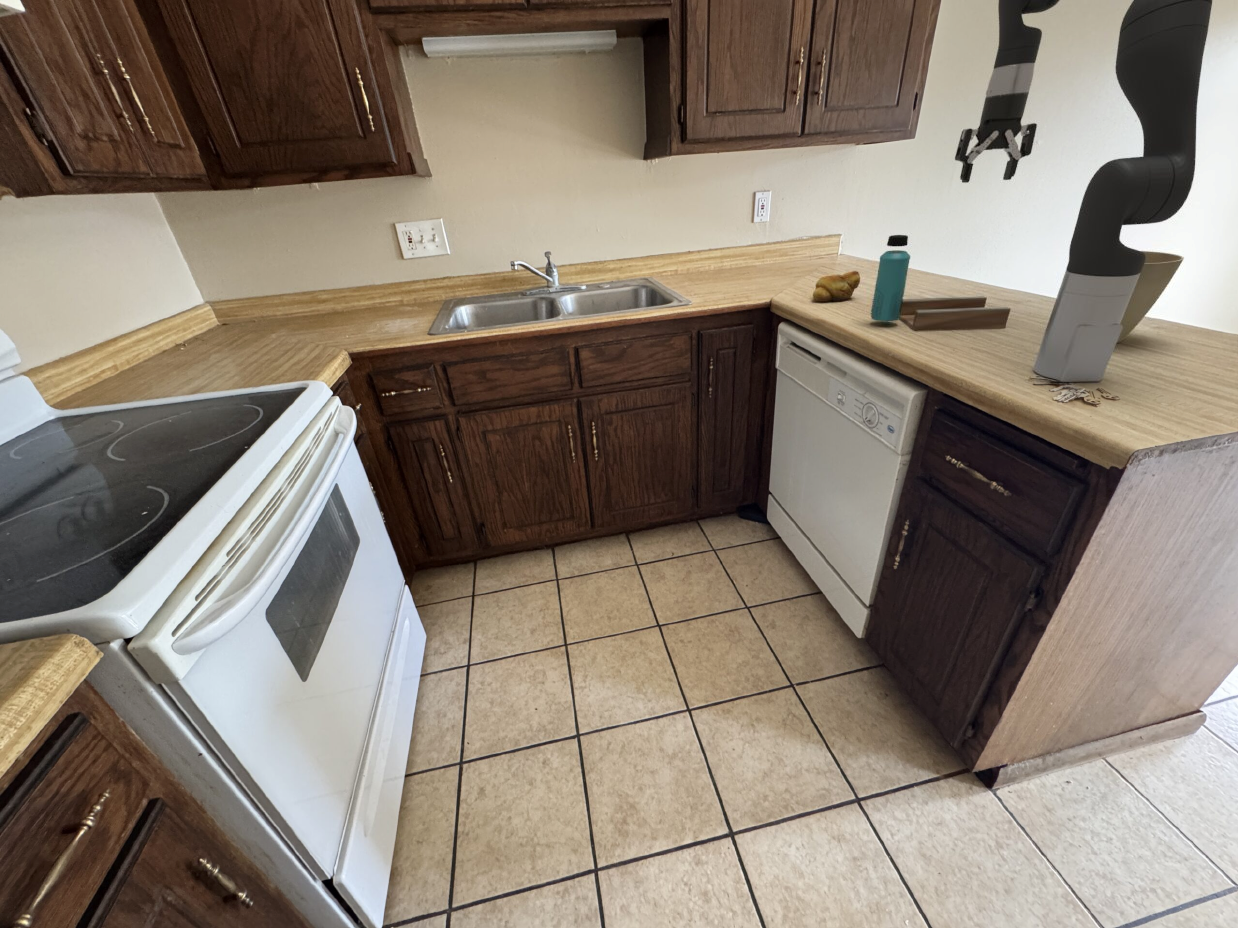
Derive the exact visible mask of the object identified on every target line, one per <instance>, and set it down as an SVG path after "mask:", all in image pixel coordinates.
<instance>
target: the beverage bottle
mask: <svg viewBox="0 0 1238 928" xmlns="http://www.w3.org/2000/svg"><path fill="white" fill-rule="evenodd" d="M908 241H909V236H908V235H907V234H905V235H904V234H893V235H889V236H888V238H887V243H886V246H888V247H906V246H908ZM910 259H911V255H910V254H909V253H908V252H907V251H906V250H899V249H898V250H887V251H884V253H883V254H881V255H880V256H879V263H878V270H877V275H876V276H877V277H876V281H875V282H876V283H875V287H874V292H873V299H872V303H871V307H870V308H871V309H870V317H871V320H873V321H879V322H894V321H895V322H896V321H898V320H900V319H899V317H900V311H901V309H902V308H901V305H902V304H903V303H902V301H903V299H904V295H905V290H906V283H907V281H908V280H907V275H908V271H909V270H908V269H909V266H910Z"/></svg>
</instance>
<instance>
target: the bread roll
mask: <svg viewBox="0 0 1238 928" xmlns="http://www.w3.org/2000/svg"><path fill="white" fill-rule="evenodd" d="M860 283H861V276H860V272H859V271H856V270H854V271H853V270H852V271H848V272H845V273H843V274H831V275H826V276H821V277H820V278H819V279H818V280H817V281H816V283H815V289H814V290H813V292H812V297H813V300H814V301H816V302H824V303H825V302H826V303H827V302H831V301H835V302H836V301H837V302H841V301H846V300H850V299H851V298H852V297H853V293H854V292H855V289H857V288H858V287H859V285H860Z"/></svg>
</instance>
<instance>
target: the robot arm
mask: <svg viewBox="0 0 1238 928" xmlns="http://www.w3.org/2000/svg"><path fill="white" fill-rule="evenodd" d="M1059 2H1060V0H998V9H997V10H998V11H997V12H998V33H999V34H998V45H997V46H998V47H997V51H996V57H995V61H994V66H993V70H992V73H991V76H990V79H989V82H988V86H987V89H986V92H985V98H984V102H983V106H982V107H983V108H982V112H981V116H980V121H979V126H978V127H977V128H976V129H975V128H974V129H972V128H965V129H963V130H962V131H961V134H960V137H959V140H958V141H959V142H958V145H957V147H956V152H955V156H954V160H955V161H957V162H961V164H962V167H961V171H960V177H959V178H960V180H961V182H962V183H964V184H966V183H969V182H970V181H971V175H972V171H973V166H974V163H973V162H974V161H975V160H976V159H977V158H978V156H979V155H981V154H982V153H983V152H984V151H992V150H1004V151H1003V152H1005V153H1006V155H1007V156H1008V158H1009V160H1007V162H1006V165H1005V170H1004V173H1003V177H1002V178H1003V179H1002V180H1003V181H1010V180H1012V177H1014V176H1015V174H1016V171H1017V169H1018V164H1019V162H1020V159H1023V158H1024V157H1028V156H1030V155H1031V154H1032V150H1033V145H1034V142H1035V136H1036V132H1037V127H1038V124H1037V123H1035V122H1033V123H1027V124H1024V125H1023V124H1022V119H1023V116H1024V114H1025V110H1026V109H1025V108H1026V104H1027V102H1028V97H1029V93H1030V89H1031V86H1032V81H1033V78H1034V72H1035V71H1034V70H1035V66H1036V65H1035V64H1036V61H1037V56H1038V54H1039V49H1040V44H1041V42H1042V41H1041V40H1042V37H1043V31H1042V30H1041V28H1039V27H1034V26H1030V25H1026V24H1025V23H1024V20H1023V15H1026V14H1038V13H1043V12H1045V11H1048V10H1050V9H1052V8H1053V7H1054V6H1056V5H1057V4H1058V3H1059ZM1212 6H1213V0H1133V1H1132V2H1131V3H1130V5H1129V7H1128V8H1127V10H1126V13H1125V14H1124V17H1123V18H1122V22H1121V25H1120V27H1119V37H1118V43H1117V52H1116V58H1115V74H1116V79H1117V83H1118V84H1119V87H1120V89H1121V90H1122V93H1123V95H1124V96H1125V98H1126V99H1127V101H1128V102H1129V104H1130V106H1131V107H1132V110H1133V111H1134V113H1135V115H1136V116H1137V118H1138V120H1139V122H1140V125H1141V130H1142V134H1143V135H1142V136H1143V155H1142V156H1134V157H1123V158H1116V159H1113V160H1109V161H1108V162H1105V163H1104V164H1103V165H1101V166H1100V167H1099V168H1098V170H1096V172H1095V173H1094V175H1093V176H1092V177H1091V178H1090V180H1089V182H1088V184H1087V186H1086V189H1085V191H1084V194H1083V197H1082V200H1081V204H1080V208H1079V211H1078V216H1077V219H1076V222H1075V227H1074V231H1073V233H1072V234H1073V235H1072V237H1071V241H1070V244H1069V253H1068V263H1067V266H1066V269H1065V273H1064V274H1063V279H1062V281H1061V284H1060V288H1059V290H1058V293H1057V295H1056V298H1055V302H1054V304H1053V308H1052V311H1051V313H1050V317H1049V319H1048V322H1047V326H1046V329H1045V331H1044V333H1043V334H1044V335H1043V337H1042V340H1041V343H1040V346H1039V349H1038V352H1037V356H1036V359H1035V360H1034V361H1035V362H1034V364H1033V368H1032V369H1033V372H1035V373H1036V374H1038V375H1040V376H1042V377H1046V378H1050V379H1053V380H1056V381H1058V382H1062V383H1067V382H1068V383H1070V382H1071V383H1073V382H1076V383H1077V382H1101V381H1102V380H1103V377H1104V374H1105V373H1106V370H1107V368H1108V367H1107V366H1108V365H1109V363H1110V360H1111V358H1112V356H1113V354H1114V353H1113V352H1114V350H1115V347H1116V345H1117V340H1118V338H1119V336H1120V333H1121V331H1122V328H1123V326H1122V325H1120V323H1121V320H1122V318H1123V315H1124V313H1125V310H1126V308H1127V305H1128V303H1129V300H1130V298H1131V295H1132V293H1133V291H1134V288H1135V286H1136V283H1137V281H1138V278H1139V276H1140V273H1141V271H1142V268H1143V266H1144V263H1145V260H1146V255H1145V254H1144V253H1143V252H1141V251H1142V250H1139V249H1134V248H1133V247H1129V246H1126V245H1125V244H1123V242H1122V241H1121V238H1120V237H1121V231H1122V227H1123V226H1133V225H1134V226H1135V225H1147V224H1148V225H1150V224H1158V223H1162V222H1164V221H1167V220H1169V219H1171V218H1172V217H1173V216H1175V215H1176V214H1177V213H1178V212H1179V211H1180V210H1181V208H1182V207H1183V206H1184V205H1185V202H1186V201H1187V199H1188V198H1189V197H1188V196H1189V195H1190V192H1191V189H1192V186H1193V182H1194V177H1195V170H1196V159H1197V158H1196V155H1197V154H1196V153H1197V152H1196V151H1197V148H1196V147H1197V119H1198V118H1197V116H1198V115H1197V112H1198V101H1199V100H1198V98H1199V90H1200V81H1201V73H1202V65H1203V59H1204V52H1205V48H1206V43H1207V38H1208V33H1209V26H1210V21H1211V13H1212ZM1019 133H1020V135H1021V136H1022V138H1021V142H1020V143H1021V144H1020V146H1019V145H1018V143H1017V141H1016V139H1015V138H1016V137H1017V136H1018V135H1019ZM974 137H975V138H976V140H977V142H976V143H975V144H974V146H972V148H971V149H970V151H969V152H968V150H969V146H970V141H972V140H973V139H974ZM1019 147H1020V148H1019Z"/></svg>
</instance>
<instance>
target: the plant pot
mask: <svg viewBox="0 0 1238 928" xmlns="http://www.w3.org/2000/svg"><path fill="white" fill-rule="evenodd" d="M1140 251H1141V252H1143V253H1144V254H1145V255H1146V260H1145V263H1144V266H1143V268H1142V271H1141V273H1140V276H1139V278H1138V281H1137V283H1136V286H1135V288H1134V291H1133V293H1132V295H1131V298H1130V300H1129V303H1128V305H1127V308H1126V310H1125V313H1124V315H1123V318H1122V320H1121V323H1120V325H1122V326H1123V328H1122V331H1121V333H1120V336H1119V338H1118V340H1117V343H1120V342H1123V341H1124V340H1125V339H1126V338H1127V337H1129V335H1130V333H1132V332H1133V330H1134V329H1135V328H1136V327H1137V326H1138V324H1139V323H1140V322H1141V321H1142V320H1143V319H1144V318H1145V316H1146V315H1147V314H1148V313H1149V311H1151V309H1152V308H1153V306H1154V305H1155V304H1156V302H1157V301H1158V299H1159V298H1160V297H1161V296H1162V294H1163V293H1164V291H1165V290H1166V289H1167V287H1168V285H1169V283H1170V282H1171V281H1172V278H1174V276H1175V274H1176V273H1177V271H1178V269H1179V268H1180V266H1181V264H1182V263H1183V261H1184V259H1185V257H1184V256H1182V255H1180V254H1175V253H1169V252H1164V251H1163V252H1161V251H1151V250H1150V251H1149V250H1147V251H1146V250H1140ZM1117 343H1116V344H1117Z"/></svg>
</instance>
